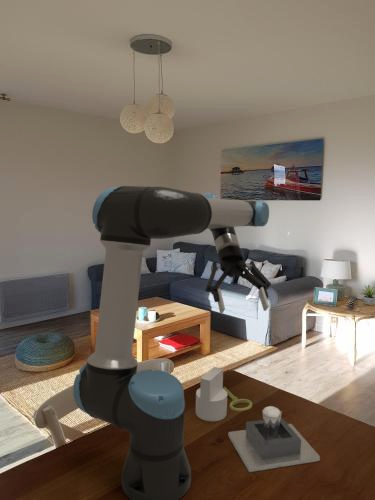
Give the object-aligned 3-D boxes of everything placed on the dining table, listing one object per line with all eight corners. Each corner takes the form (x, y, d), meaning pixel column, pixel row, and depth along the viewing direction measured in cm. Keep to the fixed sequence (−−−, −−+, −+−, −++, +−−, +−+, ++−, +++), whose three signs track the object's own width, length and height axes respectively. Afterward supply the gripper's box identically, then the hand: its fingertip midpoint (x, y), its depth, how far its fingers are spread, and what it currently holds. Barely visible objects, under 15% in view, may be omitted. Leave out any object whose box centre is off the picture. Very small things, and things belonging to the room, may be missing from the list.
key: (223, 391, 129) (224, 385, 128) (255, 406, 120) (255, 400, 120) (208, 399, 124) (209, 393, 123) (240, 415, 115) (240, 409, 115)
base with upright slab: (218, 424, 109) (219, 383, 108) (190, 415, 114) (190, 375, 112) (231, 410, 117) (233, 371, 115) (204, 401, 121) (205, 364, 120)
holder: (249, 472, 91) (249, 453, 90) (228, 436, 104) (228, 419, 103) (319, 460, 95) (320, 442, 94) (290, 427, 108) (291, 411, 108)
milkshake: (273, 452, 96) (275, 413, 95) (257, 441, 100) (259, 404, 99) (286, 445, 99) (288, 408, 97) (269, 435, 103) (271, 398, 101)
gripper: (261, 257, 134) (279, 313, 121) (189, 259, 128) (200, 318, 115) (268, 243, 128) (288, 301, 115) (193, 244, 122) (206, 305, 109)
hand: (244, 309), depth 115 cm, fingers open, 13 cm apart
